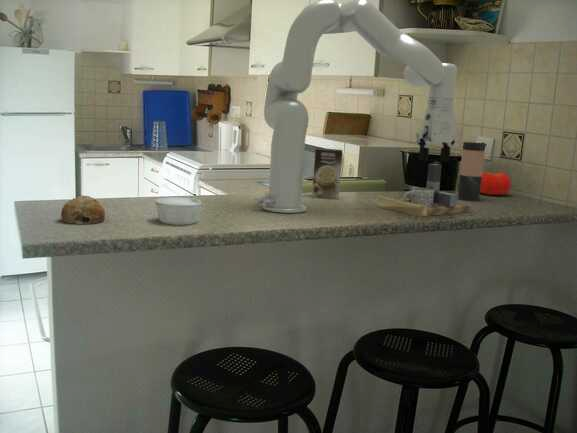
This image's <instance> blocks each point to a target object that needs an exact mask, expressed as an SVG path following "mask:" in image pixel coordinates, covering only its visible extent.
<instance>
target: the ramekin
mask: <svg viewBox="0 0 577 433" xmlns="http://www.w3.org/2000/svg"><path fill="white" fill-rule="evenodd" d="M155 206H156V210H157V218H158V220H159V221H160V222H161V223H162V224H166V225H173V226H174V225H175V226H185V225H192V224H195V223H196V222H197V221H198V219H199V215H200V210H201V207H202V201H201V200H198V199H196V198H188V197H163V198H162V197H161V198H158V199H156V200H155Z"/></svg>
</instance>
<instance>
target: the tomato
mask: <svg viewBox="0 0 577 433" xmlns="http://www.w3.org/2000/svg"><path fill="white" fill-rule="evenodd" d="M511 186H512V182H511V178H510V177H509V175H508V174H506V173H503V172H497V173H492V172H489V171H488V172H486V171H483V174H482V181H481V188H480V194H481V195H488V196H498V197H500V196H504V195H506V194H508V193H509V192H510V189H511V188H512V187H511Z"/></svg>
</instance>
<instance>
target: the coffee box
mask: <svg viewBox="0 0 577 433" xmlns="http://www.w3.org/2000/svg"><path fill="white" fill-rule="evenodd" d="M314 152H315V153H314V164H313V165H314V166H313V177H312V188H311V189H312V190H311V198H318V199H329V200H330V199H333V200H339V196H340V185H341V173H342V161H343V160H342V159H343V150H342V149H335V148H322V147H315V151H314Z"/></svg>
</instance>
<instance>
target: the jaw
mask: <svg viewBox="0 0 577 433" xmlns="http://www.w3.org/2000/svg"><path fill="white" fill-rule="evenodd" d="M427 166H428V167H427V177H426V187H425V188H429V189H434V199H433V203H435V204H434V205H442V206H449V207H450V206H456V205H457V201H458V194H456V193H450V192H446V191H440V185H441V176H442V175H441V174H442V166H443V165H442V164H438V163H429V164H428V165H427ZM408 188H409V189H408V192H409V191H412V188H421V187H419V186H409V187H408ZM407 197H408V198H407V199H411V198H412V195H408V196H407Z"/></svg>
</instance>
